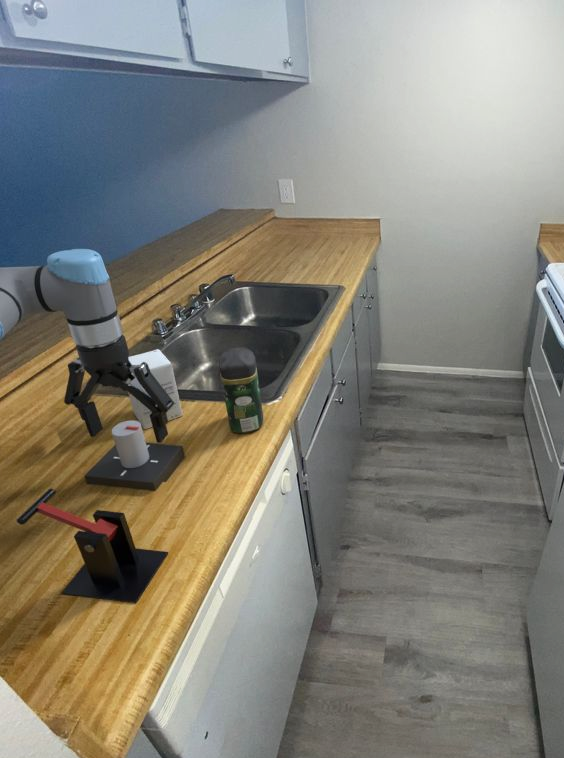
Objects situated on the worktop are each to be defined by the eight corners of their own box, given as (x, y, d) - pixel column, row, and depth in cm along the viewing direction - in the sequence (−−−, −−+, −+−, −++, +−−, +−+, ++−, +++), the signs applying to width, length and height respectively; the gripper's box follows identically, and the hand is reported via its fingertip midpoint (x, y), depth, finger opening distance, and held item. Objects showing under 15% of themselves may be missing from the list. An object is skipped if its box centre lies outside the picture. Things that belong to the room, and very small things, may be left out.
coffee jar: (228, 413, 115) (217, 346, 107) (262, 408, 118) (254, 342, 109) (228, 437, 107) (216, 367, 99) (264, 431, 110) (256, 362, 101)
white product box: (132, 412, 114) (117, 358, 107) (171, 399, 120) (159, 347, 113) (143, 430, 108) (128, 375, 101) (184, 416, 114) (171, 362, 107)
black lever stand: (62, 598, 72) (37, 544, 67) (102, 549, 80) (82, 497, 74) (137, 607, 71) (118, 553, 66) (169, 556, 79) (155, 505, 74)
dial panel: (88, 487, 92) (83, 475, 91) (123, 450, 102) (119, 439, 101) (156, 494, 91) (153, 482, 90) (185, 456, 101) (182, 445, 100)
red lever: (15, 525, 67) (17, 515, 66) (47, 494, 73) (49, 484, 72) (96, 557, 69) (99, 548, 68) (122, 525, 74) (125, 516, 73)
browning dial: (116, 467, 93) (105, 433, 89) (131, 450, 98) (121, 418, 94) (140, 469, 93) (130, 435, 89) (154, 452, 97) (145, 420, 93)
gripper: (179, 334, 85) (199, 429, 95) (49, 325, 87) (83, 419, 97) (155, 354, 78) (180, 453, 88) (16, 343, 80) (55, 442, 90)
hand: (129, 435), depth 92 cm, fingers open, 13 cm apart
